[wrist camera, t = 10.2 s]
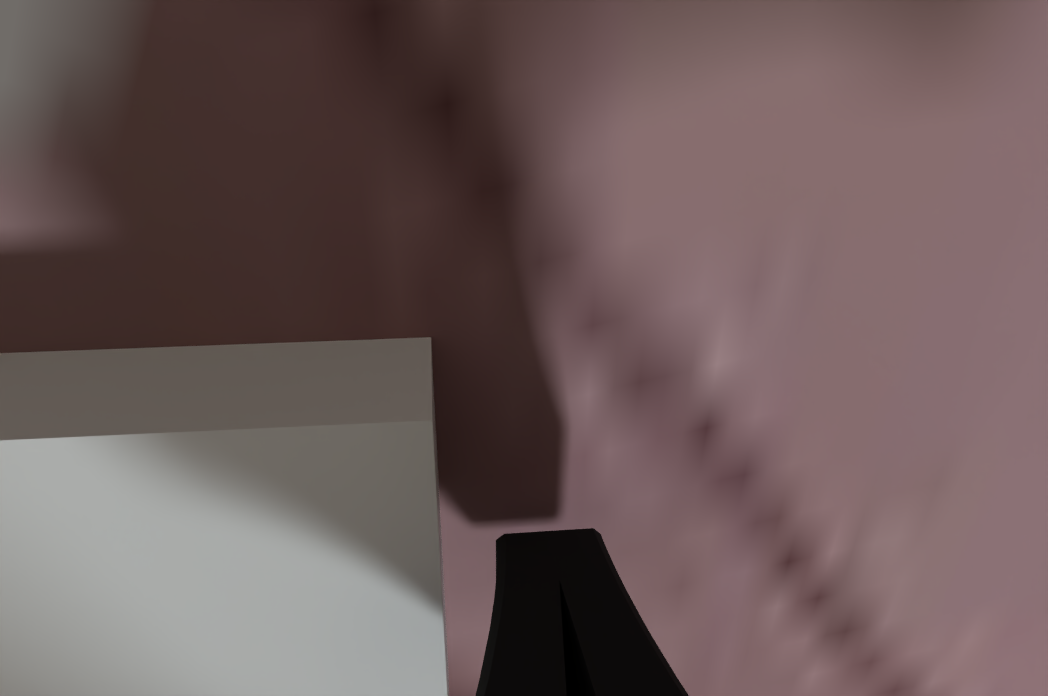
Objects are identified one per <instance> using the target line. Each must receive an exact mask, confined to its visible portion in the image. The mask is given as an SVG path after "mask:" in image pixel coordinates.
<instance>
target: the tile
mask: <svg viewBox="0 0 1048 696" xmlns="http://www.w3.org/2000/svg"><path fill="white" fill-rule="evenodd" d="M0 696H449V679H448V654H447V635H446V616H445V596H444V577H443V558H442V539H441V519H440V500H439V481H438V462H437V443H436V423H435V404H434V385H433V366H432V346H431V337H425V338H398V339H371V340H344V341H317V342H290V343H263V344H235V345H208V346H181V347H154V348H127V349H100V350H73V351H45V352H18V353H0Z"/></svg>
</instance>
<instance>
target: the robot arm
mask: <svg viewBox="0 0 1048 696" xmlns="http://www.w3.org/2000/svg"><path fill="white" fill-rule="evenodd" d="M476 696H688V694H687V692H686V691H685V689H684V688H683V686H682V685H681V683H680V682H679V680H678V679H677V677H676V675H675V674H674V672H673V670H672V669H671V667H670V665H669V664H668V662H667V661H666V659H665V657H664V656H663V654H662V652H661V651H660V649H659V647H658V646H657V644H656V642H655V641H654V639H653V638H652V636H651V634H650V632H649V631H648V629H647V627H646V625H645V624H644V622H643V620H642V618H641V617H640V615H639V613H638V611H637V609H636V607H635V605H634V604H633V602H632V600H631V598H630V596H629V594H628V592H627V591H626V589H625V587H624V585H623V583H622V581H621V579H620V577H619V575H618V573H617V571H616V568H615V566H614V564H613V562H612V560H611V558H610V555H609V553H608V551H607V549H606V546H605V544H604V542H603V539H602V536H601V534H600V533H599V532H597V531H596V530H595V529H593V528H591V529H575V530H559V531H543V532H527V533H511V534H504V535H502V536H501V537H500V538H498V539H497V540H496V589H495V598H494V605H493V612H492V619H491V626H490V631H489V636H488V641H487V646H486V651H485V656H484V660H483V665H482V670H481V675H480V680H479V684H478V688H477V692H476Z"/></svg>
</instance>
